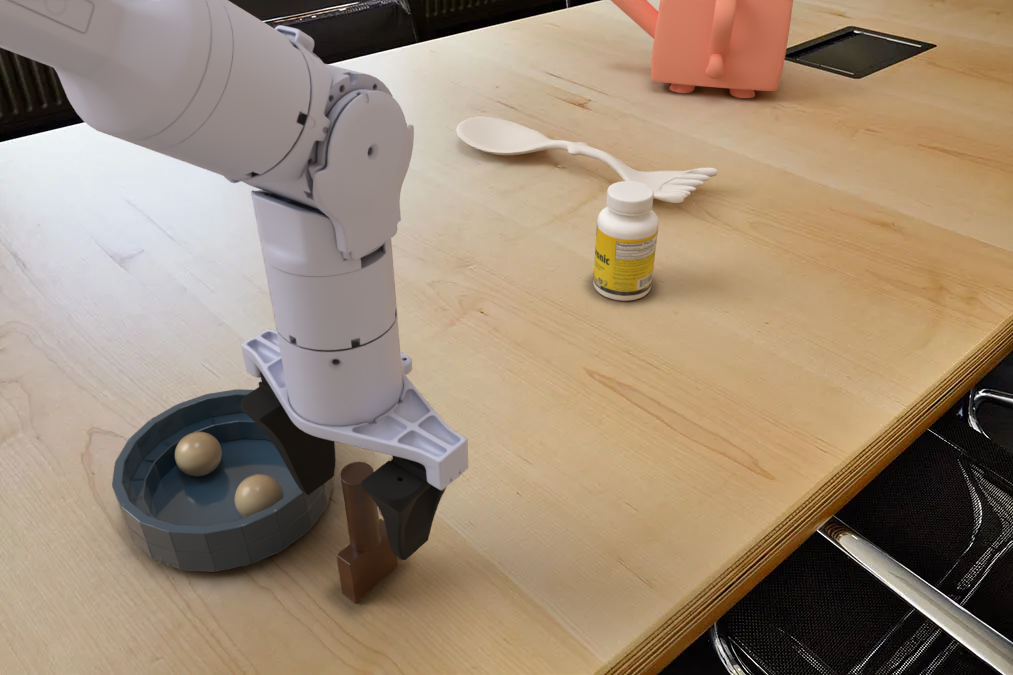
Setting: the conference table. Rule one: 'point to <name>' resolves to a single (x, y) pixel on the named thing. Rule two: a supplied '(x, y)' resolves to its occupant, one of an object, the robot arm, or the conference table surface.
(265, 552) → the bowl
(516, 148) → the spoon
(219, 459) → the bead far
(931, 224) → the conference table surface
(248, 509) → the bead near
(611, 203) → the supplement bottle
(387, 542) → the stir paddle
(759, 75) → the teapot
